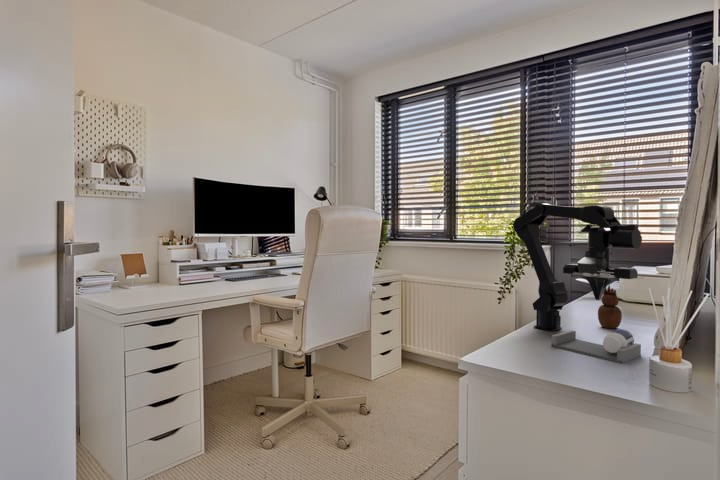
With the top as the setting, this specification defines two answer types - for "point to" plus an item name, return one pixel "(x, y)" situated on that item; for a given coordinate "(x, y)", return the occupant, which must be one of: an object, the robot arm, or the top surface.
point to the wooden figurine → (609, 310)
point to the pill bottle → (618, 340)
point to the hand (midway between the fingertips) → (597, 299)
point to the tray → (594, 348)
